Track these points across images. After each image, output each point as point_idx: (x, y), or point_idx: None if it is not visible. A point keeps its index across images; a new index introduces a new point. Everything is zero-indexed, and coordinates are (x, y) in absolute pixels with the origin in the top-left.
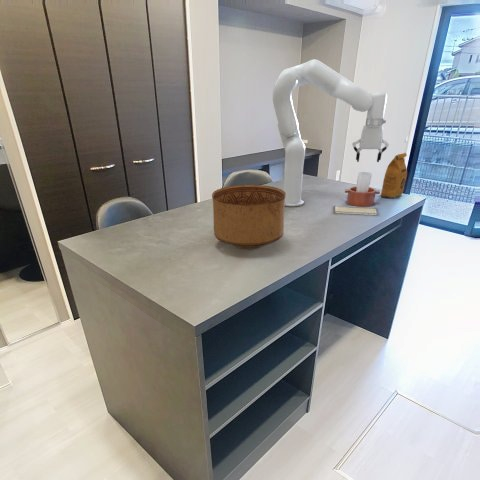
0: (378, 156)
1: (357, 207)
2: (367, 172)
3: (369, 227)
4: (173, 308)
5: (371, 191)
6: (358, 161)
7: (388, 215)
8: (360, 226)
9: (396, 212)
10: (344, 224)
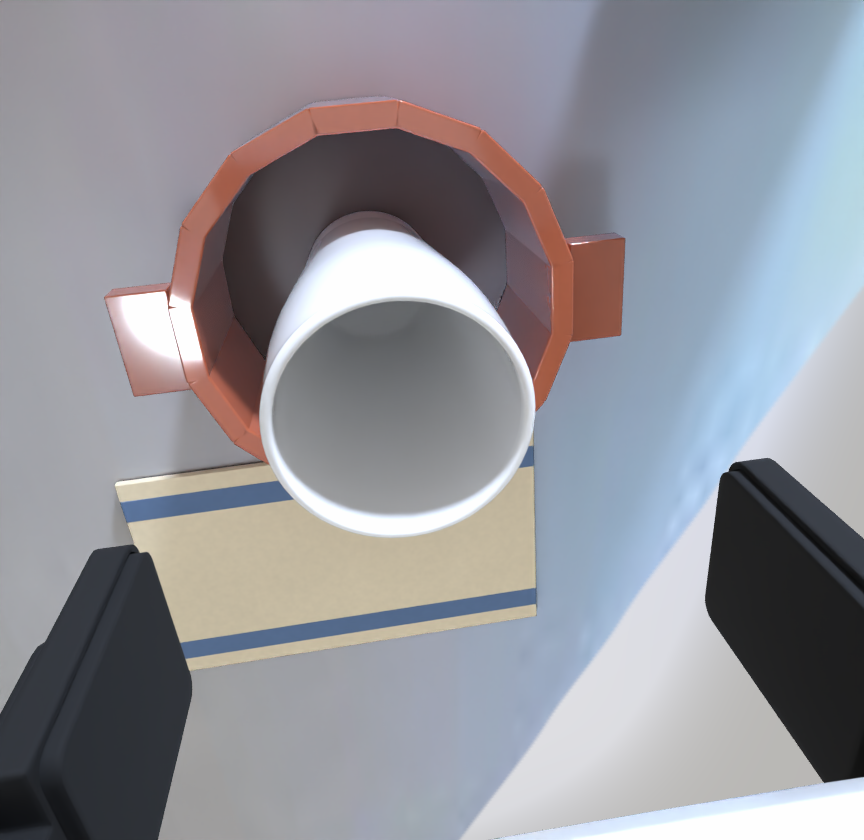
0: (793, 725)
1: None
2: (449, 307)
3: (469, 824)
4: None
5: (513, 200)
6: (184, 689)
7: (625, 580)
8: (412, 828)
9: (708, 486)
10: (305, 833)
